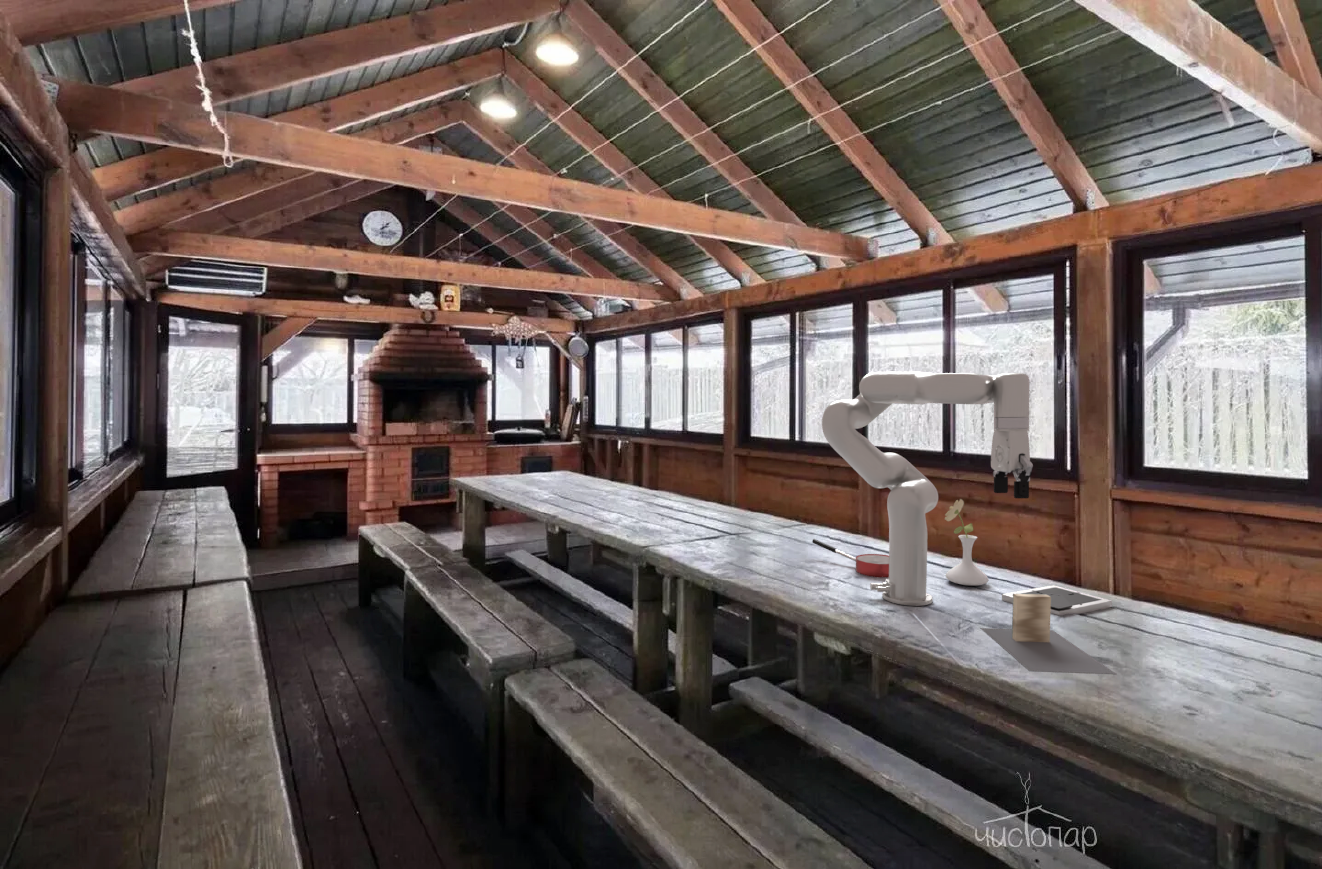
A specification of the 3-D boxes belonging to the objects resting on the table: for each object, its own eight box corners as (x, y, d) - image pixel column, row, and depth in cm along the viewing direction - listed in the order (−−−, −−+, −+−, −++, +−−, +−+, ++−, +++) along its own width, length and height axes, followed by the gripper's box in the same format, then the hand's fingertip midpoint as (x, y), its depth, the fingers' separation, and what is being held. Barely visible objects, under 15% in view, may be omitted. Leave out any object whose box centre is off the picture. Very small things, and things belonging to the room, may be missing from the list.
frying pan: (797, 561, 216) (797, 542, 215) (820, 555, 224) (820, 536, 224) (886, 580, 192) (886, 559, 192) (907, 573, 201) (908, 552, 200)
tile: (1016, 641, 141) (1017, 596, 141) (1011, 637, 143) (1013, 593, 143) (1049, 642, 141) (1050, 597, 140) (1045, 638, 143) (1046, 594, 142)
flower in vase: (967, 576, 196) (969, 494, 195) (997, 586, 185) (999, 500, 184) (932, 580, 192) (933, 496, 191) (961, 591, 181) (963, 502, 180)
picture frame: (1058, 619, 159) (1111, 608, 167) (1059, 608, 159) (1112, 597, 167) (1001, 601, 173) (1053, 592, 181) (1002, 591, 173) (1053, 582, 181)
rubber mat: (1029, 673, 126) (1029, 670, 126) (980, 630, 150) (980, 627, 150) (1116, 676, 124) (1116, 673, 124) (1052, 632, 148) (1052, 630, 148)
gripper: (978, 424, 164) (978, 491, 165) (1013, 425, 147) (1013, 500, 148) (1008, 423, 164) (1008, 490, 165) (1047, 425, 147) (1046, 500, 148)
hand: (1010, 495), depth 156 cm, fingers open, 9 cm apart
